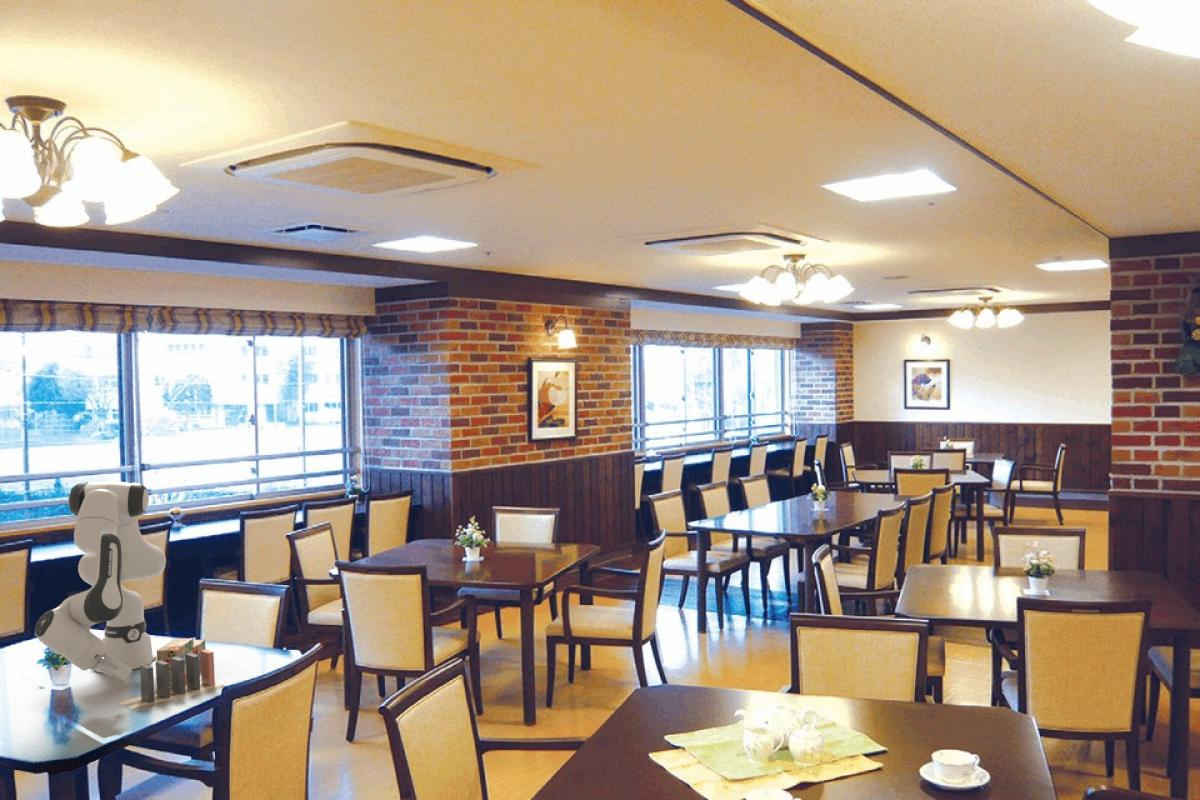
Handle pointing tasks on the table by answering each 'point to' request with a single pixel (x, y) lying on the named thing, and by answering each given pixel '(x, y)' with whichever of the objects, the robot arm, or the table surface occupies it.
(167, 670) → the domino
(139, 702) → the domino board
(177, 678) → the domino
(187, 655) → the domino
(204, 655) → the domino
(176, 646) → the stack of blocks
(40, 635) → the robot arm
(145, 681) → the domino
